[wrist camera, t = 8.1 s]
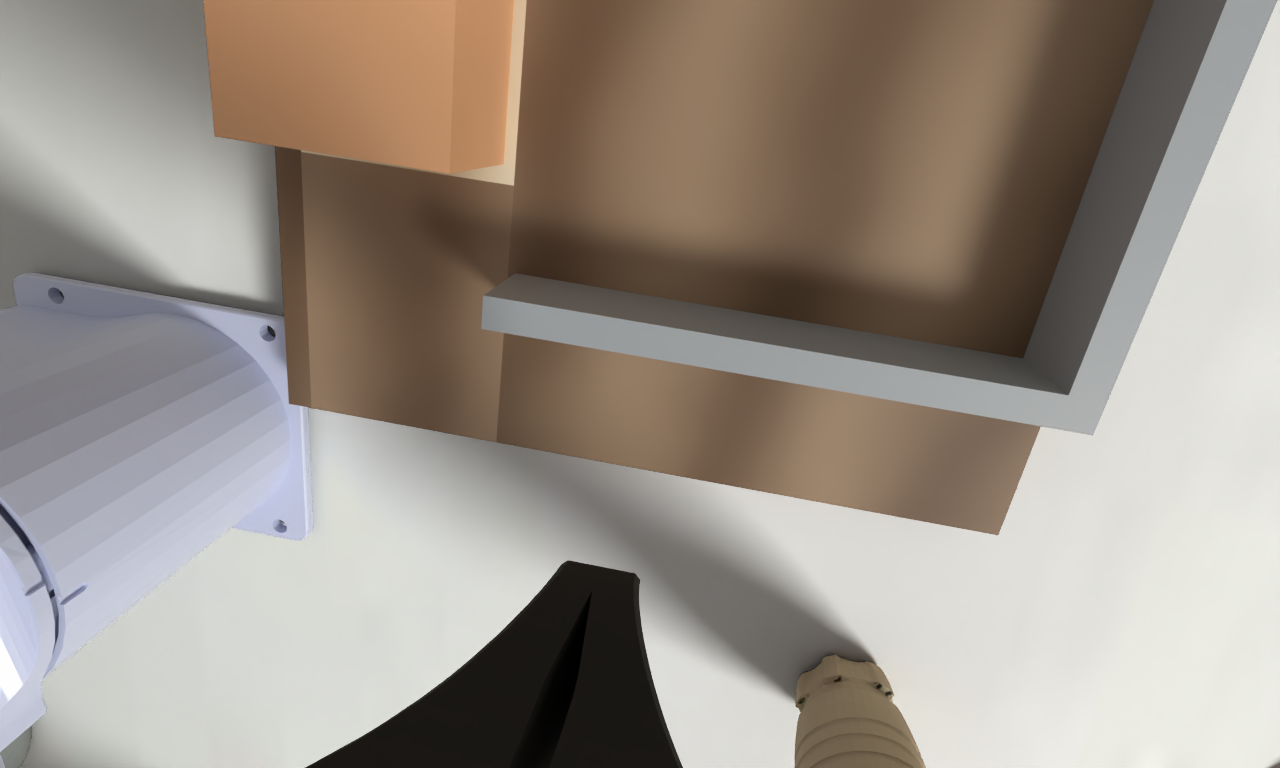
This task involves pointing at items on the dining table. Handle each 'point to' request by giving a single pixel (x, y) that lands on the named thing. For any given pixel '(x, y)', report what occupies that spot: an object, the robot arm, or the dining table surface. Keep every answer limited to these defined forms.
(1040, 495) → the dining table surface
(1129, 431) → the dining table surface
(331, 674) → the dining table surface
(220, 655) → the dining table surface
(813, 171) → the board
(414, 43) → the block
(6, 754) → the water bottle
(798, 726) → the handle
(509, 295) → the gray rectangular frame
